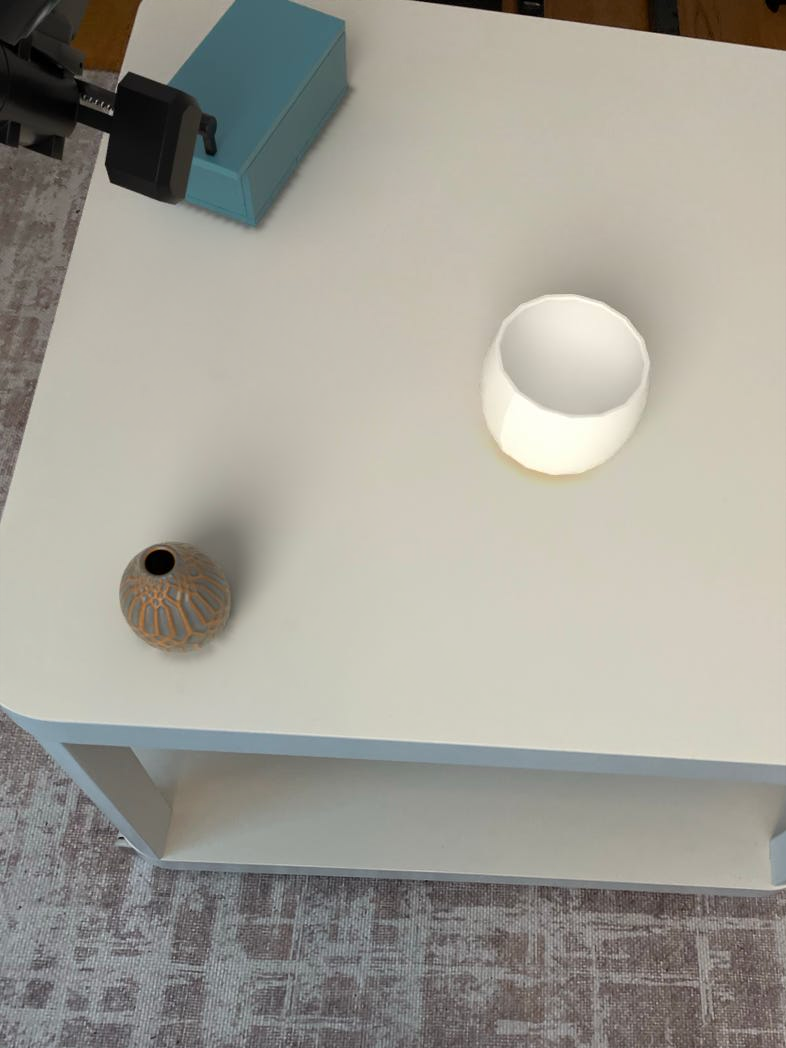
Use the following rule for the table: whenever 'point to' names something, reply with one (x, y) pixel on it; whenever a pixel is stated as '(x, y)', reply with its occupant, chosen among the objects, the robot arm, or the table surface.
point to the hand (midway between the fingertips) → (119, 128)
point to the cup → (564, 383)
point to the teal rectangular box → (275, 148)
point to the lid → (252, 76)
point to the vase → (175, 597)
